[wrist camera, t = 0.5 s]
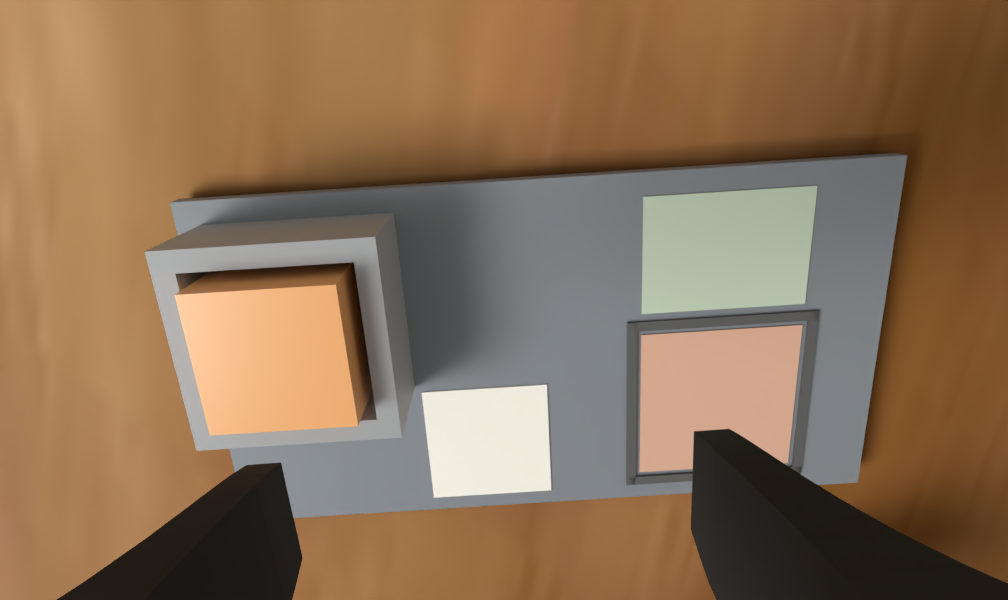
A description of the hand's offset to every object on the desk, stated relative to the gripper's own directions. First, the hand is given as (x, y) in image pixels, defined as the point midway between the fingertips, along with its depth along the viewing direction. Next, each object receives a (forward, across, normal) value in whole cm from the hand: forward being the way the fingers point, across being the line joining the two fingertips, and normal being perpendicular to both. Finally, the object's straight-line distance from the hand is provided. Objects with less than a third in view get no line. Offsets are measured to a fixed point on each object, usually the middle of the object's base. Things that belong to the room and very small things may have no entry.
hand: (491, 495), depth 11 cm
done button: (+7, +5, -1) cm, 9 cm away
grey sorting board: (+9, -2, +1) cm, 9 cm away
